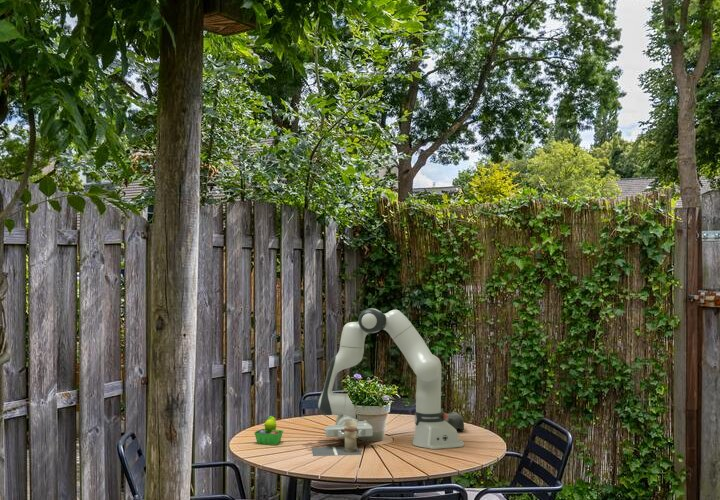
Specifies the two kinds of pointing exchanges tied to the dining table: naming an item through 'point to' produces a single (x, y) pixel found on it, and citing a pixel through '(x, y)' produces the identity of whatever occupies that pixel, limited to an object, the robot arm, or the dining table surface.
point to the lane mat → (333, 451)
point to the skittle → (350, 436)
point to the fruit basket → (269, 433)
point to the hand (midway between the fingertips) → (350, 435)
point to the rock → (455, 420)
